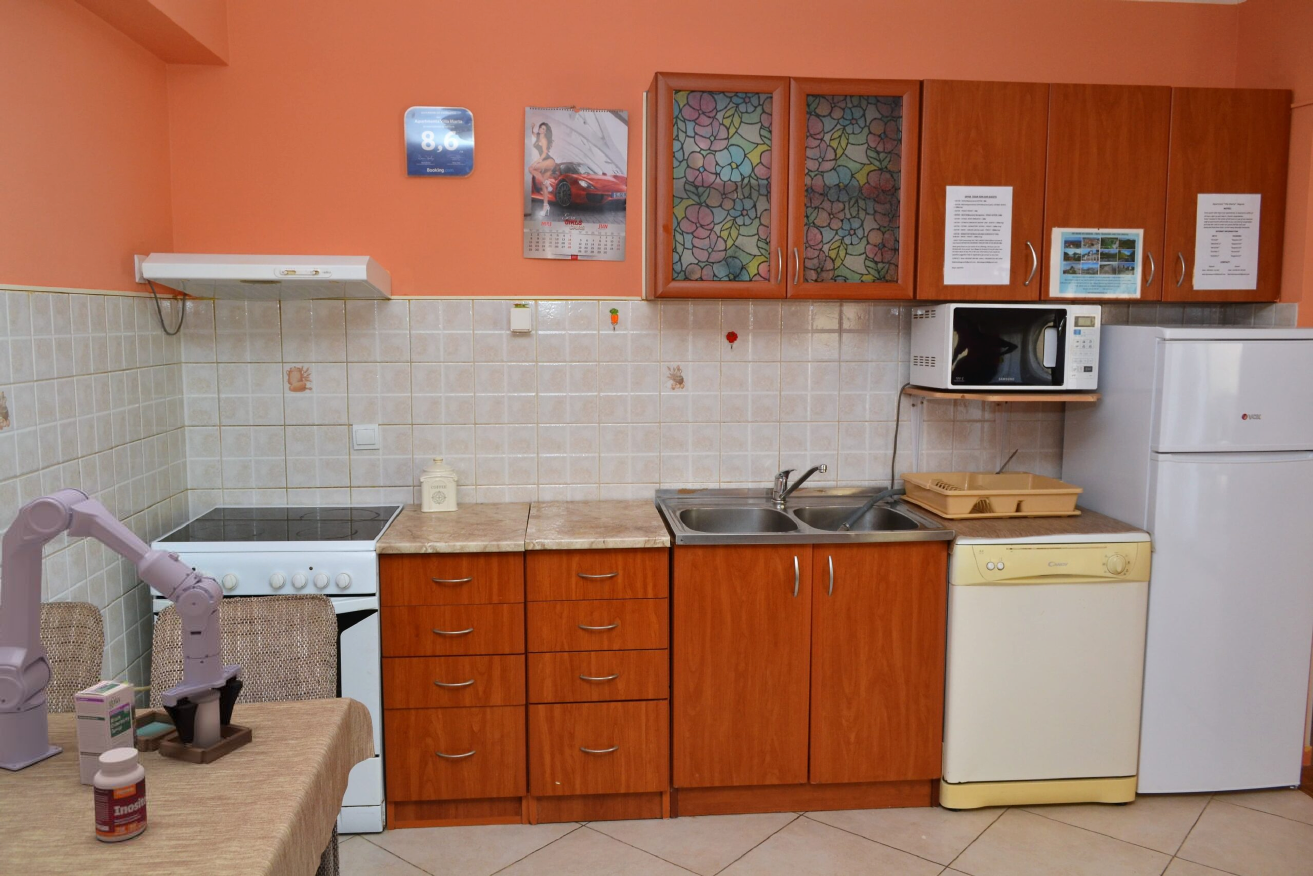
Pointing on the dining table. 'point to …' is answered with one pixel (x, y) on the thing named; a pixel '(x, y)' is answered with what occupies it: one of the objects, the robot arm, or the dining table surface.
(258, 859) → the dining table surface
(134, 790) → the pill bottle
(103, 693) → the syrup box
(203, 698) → the tube
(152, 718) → the brown flat frame
